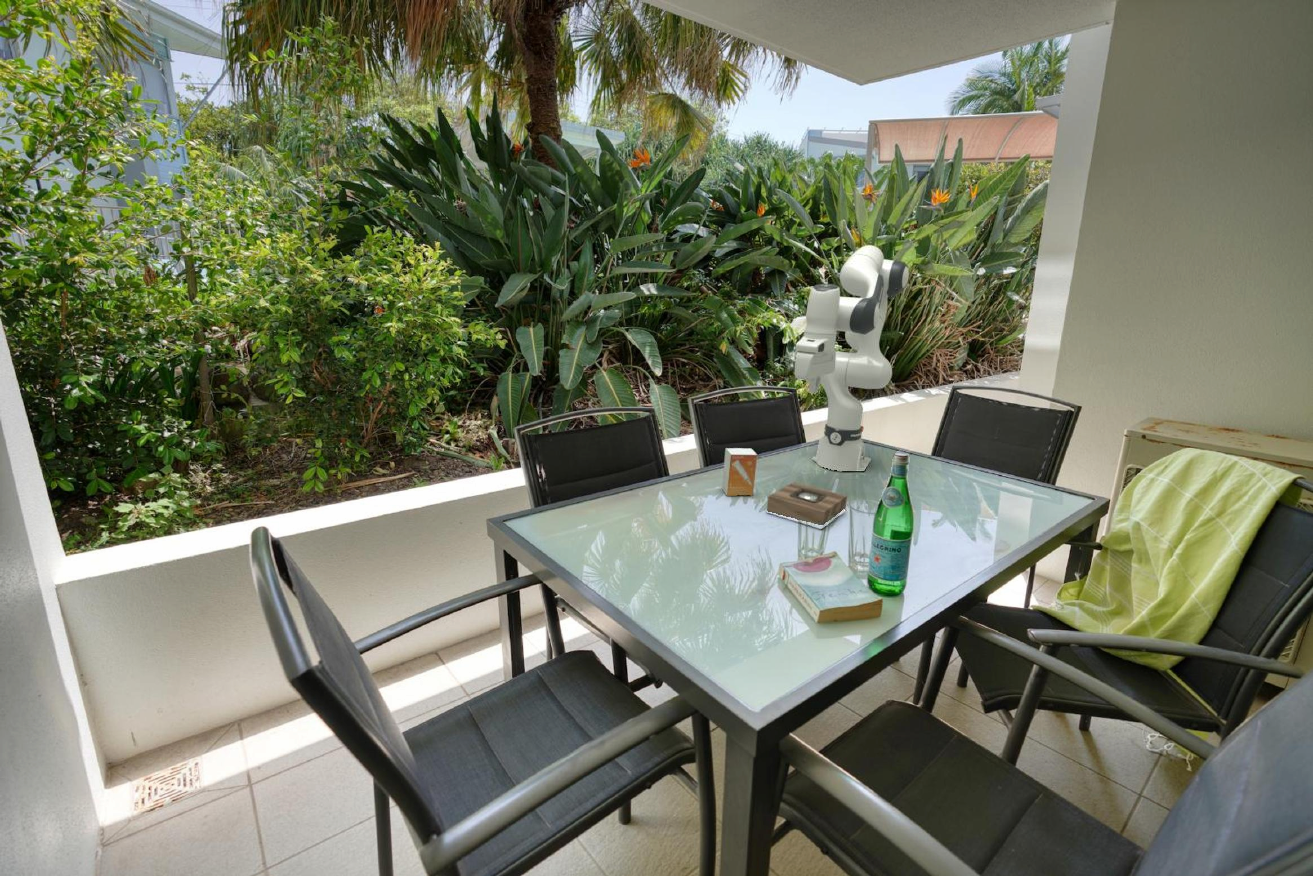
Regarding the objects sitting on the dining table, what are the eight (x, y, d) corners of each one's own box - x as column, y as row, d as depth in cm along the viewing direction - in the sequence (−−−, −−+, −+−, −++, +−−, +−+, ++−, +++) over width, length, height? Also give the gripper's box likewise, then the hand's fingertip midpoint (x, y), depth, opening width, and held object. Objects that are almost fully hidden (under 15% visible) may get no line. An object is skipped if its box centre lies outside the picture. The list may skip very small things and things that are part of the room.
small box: (726, 496, 180) (730, 454, 176) (721, 488, 186) (725, 447, 182) (753, 496, 181) (757, 454, 177) (747, 488, 187) (751, 447, 183)
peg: (801, 506, 174) (803, 491, 172) (818, 511, 171) (820, 495, 170) (794, 511, 170) (795, 495, 169) (810, 516, 167) (812, 500, 166)
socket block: (792, 497, 181) (794, 481, 180) (844, 512, 172) (847, 495, 171) (766, 513, 169) (768, 495, 167) (821, 530, 160) (824, 511, 158)
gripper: (823, 339, 183) (817, 385, 187) (792, 344, 168) (787, 394, 171) (843, 342, 180) (837, 388, 183) (814, 347, 164) (808, 398, 168)
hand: (813, 391), depth 177 cm, fingers closed
